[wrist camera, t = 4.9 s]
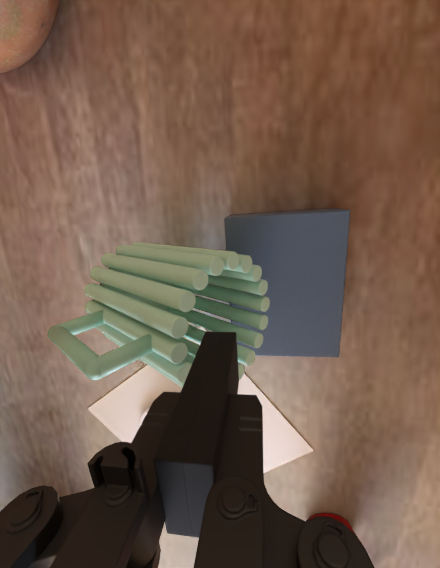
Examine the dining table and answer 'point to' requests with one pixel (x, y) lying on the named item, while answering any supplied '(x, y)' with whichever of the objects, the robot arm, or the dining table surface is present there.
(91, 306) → the green rod mug
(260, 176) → the dining table surface
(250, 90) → the dining table surface
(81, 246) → the dining table surface
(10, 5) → the ceramic jug
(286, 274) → the block
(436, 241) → the dining table surface
